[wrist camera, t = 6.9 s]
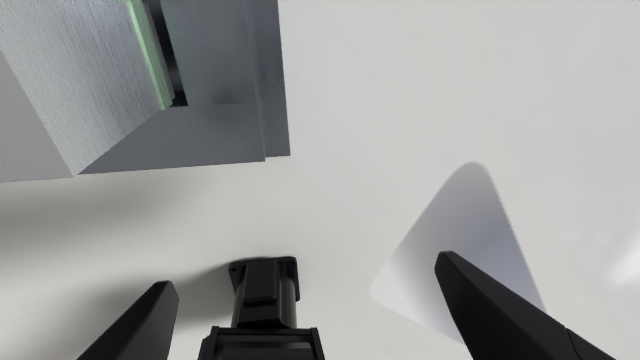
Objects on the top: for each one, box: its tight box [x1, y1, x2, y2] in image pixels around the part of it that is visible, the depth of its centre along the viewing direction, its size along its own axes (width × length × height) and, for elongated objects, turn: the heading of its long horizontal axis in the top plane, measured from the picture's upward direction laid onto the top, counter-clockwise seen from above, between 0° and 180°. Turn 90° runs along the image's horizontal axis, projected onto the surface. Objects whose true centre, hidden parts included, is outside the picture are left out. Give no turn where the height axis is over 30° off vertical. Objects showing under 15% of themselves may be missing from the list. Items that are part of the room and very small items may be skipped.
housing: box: [77, 0, 290, 175], centre depth 14 cm, size 15×15×5 cm
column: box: [0, 0, 175, 183], centre depth 9 cm, size 4×4×8 cm
